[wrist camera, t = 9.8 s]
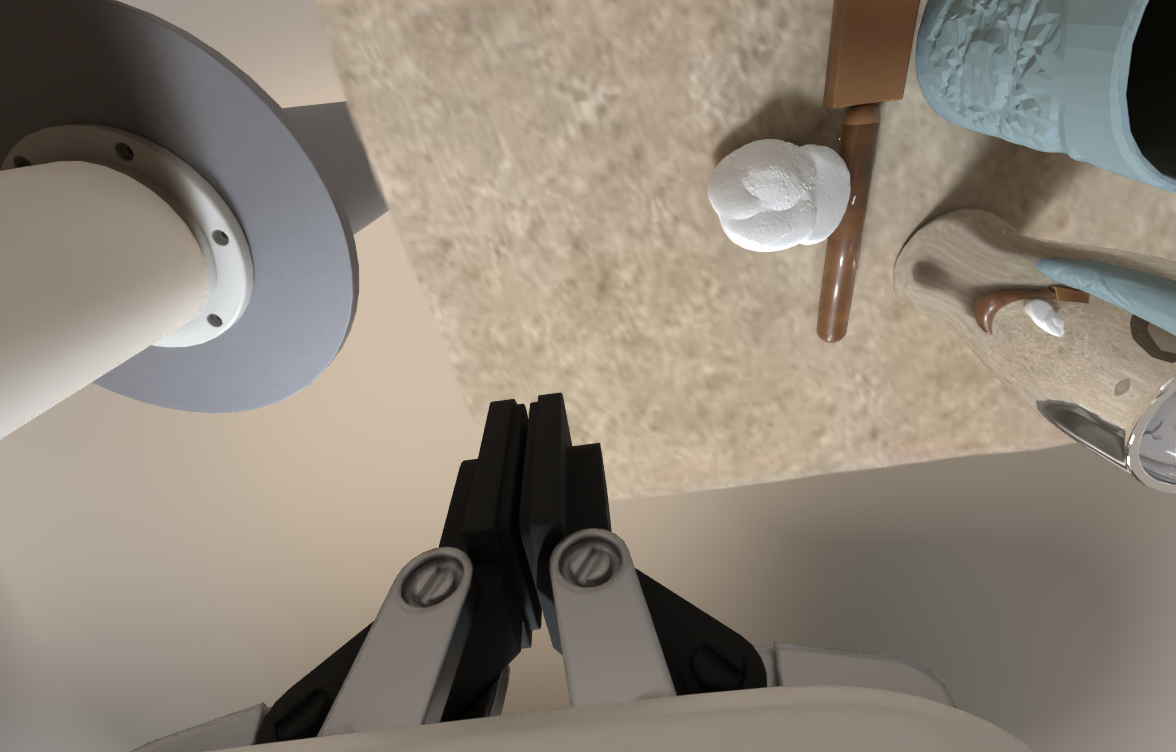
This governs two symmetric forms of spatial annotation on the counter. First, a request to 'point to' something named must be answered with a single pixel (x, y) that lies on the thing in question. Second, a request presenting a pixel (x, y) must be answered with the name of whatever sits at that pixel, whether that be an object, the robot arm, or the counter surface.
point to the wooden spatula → (860, 127)
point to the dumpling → (779, 194)
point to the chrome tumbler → (1059, 330)
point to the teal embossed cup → (1059, 78)
